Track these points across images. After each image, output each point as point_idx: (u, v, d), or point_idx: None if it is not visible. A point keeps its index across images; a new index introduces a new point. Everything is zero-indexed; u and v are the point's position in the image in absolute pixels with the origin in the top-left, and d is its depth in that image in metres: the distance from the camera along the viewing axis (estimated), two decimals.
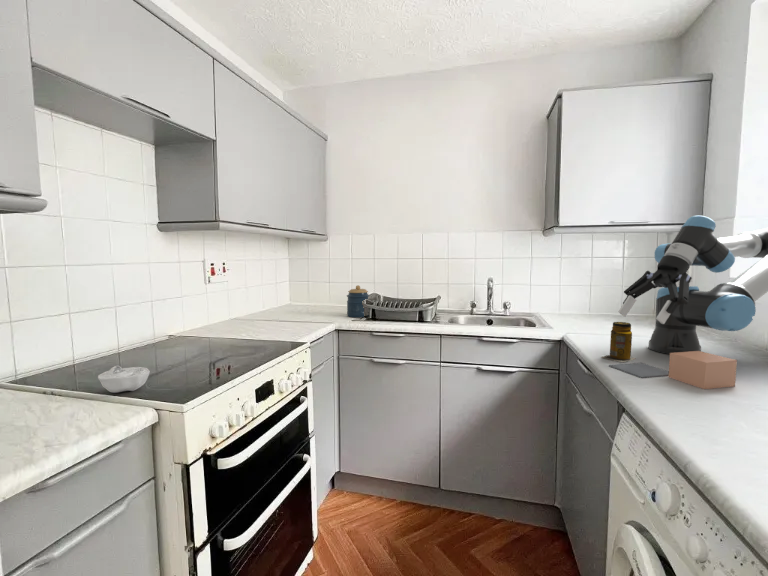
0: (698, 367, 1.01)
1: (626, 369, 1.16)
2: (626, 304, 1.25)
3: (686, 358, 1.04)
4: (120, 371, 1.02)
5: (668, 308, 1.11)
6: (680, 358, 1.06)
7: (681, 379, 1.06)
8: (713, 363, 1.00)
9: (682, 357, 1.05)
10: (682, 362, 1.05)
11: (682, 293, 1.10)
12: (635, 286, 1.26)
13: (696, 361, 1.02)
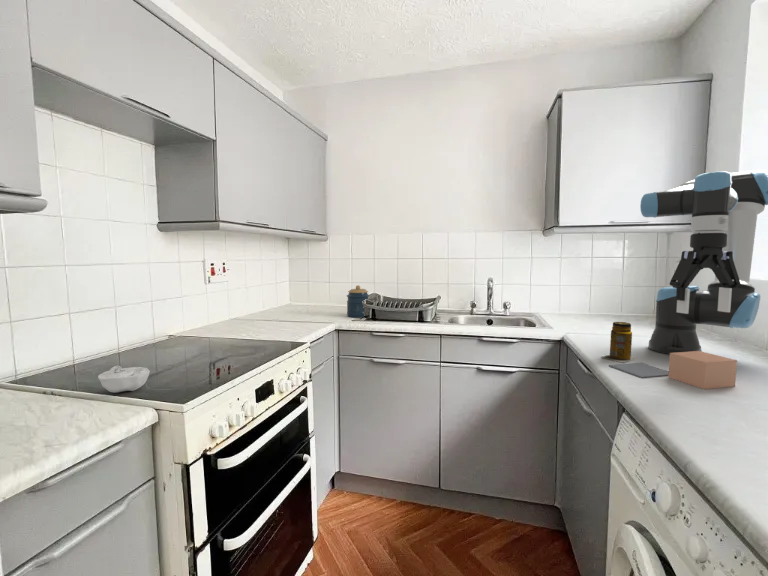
0: (698, 367, 1.01)
1: (626, 369, 1.16)
2: None
3: (686, 358, 1.04)
4: (120, 371, 1.02)
5: None
6: (680, 358, 1.06)
7: (681, 379, 1.06)
8: (713, 363, 1.00)
9: (682, 357, 1.05)
10: (682, 362, 1.05)
11: (737, 277, 1.04)
12: None
13: (696, 361, 1.02)
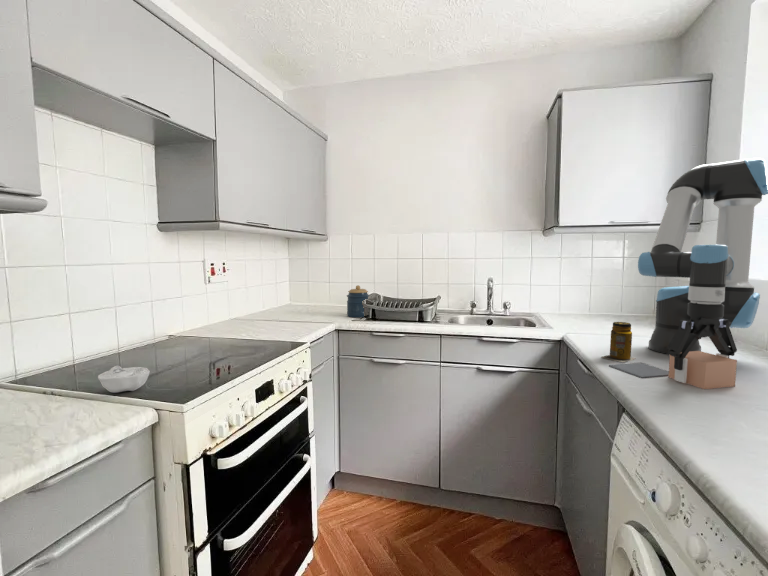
0: (698, 367, 1.01)
1: (626, 369, 1.16)
2: None
3: (686, 358, 1.04)
4: (120, 371, 1.02)
5: None
6: None
7: None
8: (713, 363, 1.00)
9: None
10: None
11: (734, 344, 1.06)
12: None
13: (696, 361, 1.02)
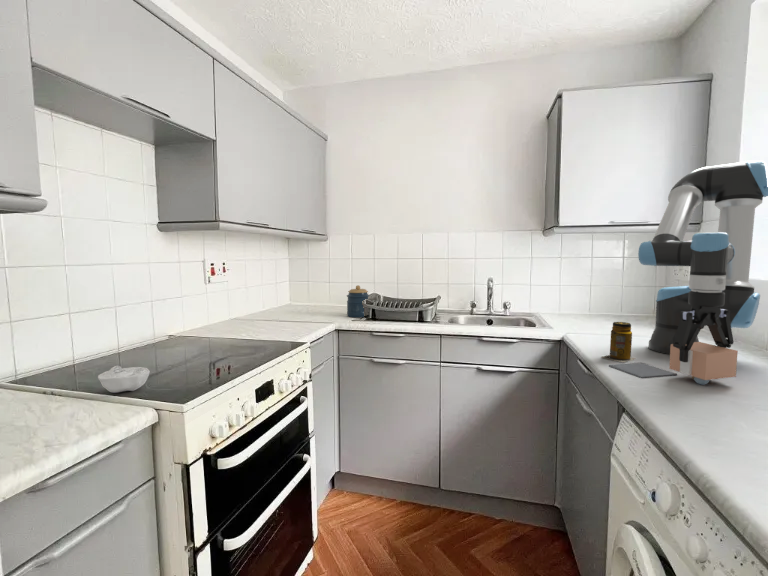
0: (698, 358, 1.01)
1: (626, 369, 1.16)
2: None
3: None
4: (120, 371, 1.02)
5: None
6: None
7: None
8: (714, 354, 1.00)
9: None
10: None
11: (731, 336, 1.05)
12: None
13: (697, 352, 1.02)
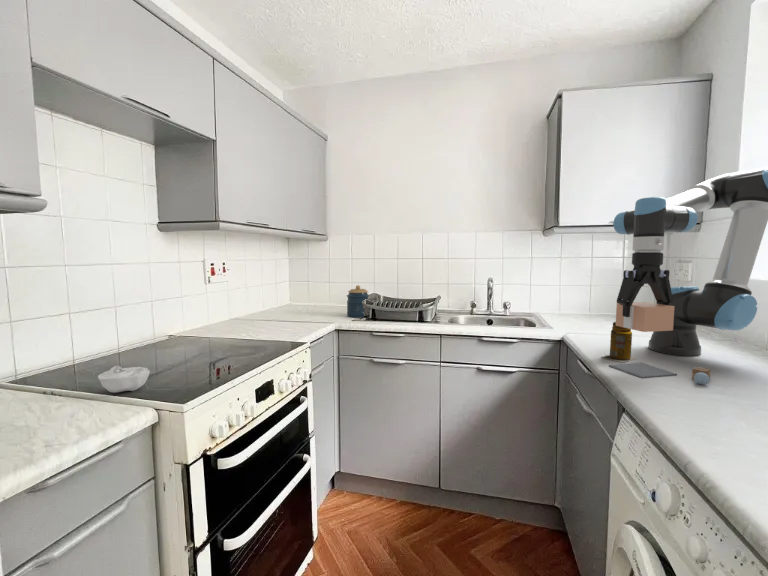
0: (638, 312, 1.10)
1: (626, 369, 1.16)
2: None
3: None
4: (120, 371, 1.02)
5: None
6: None
7: None
8: (652, 308, 1.09)
9: None
10: None
11: (671, 295, 1.15)
12: None
13: (637, 307, 1.11)
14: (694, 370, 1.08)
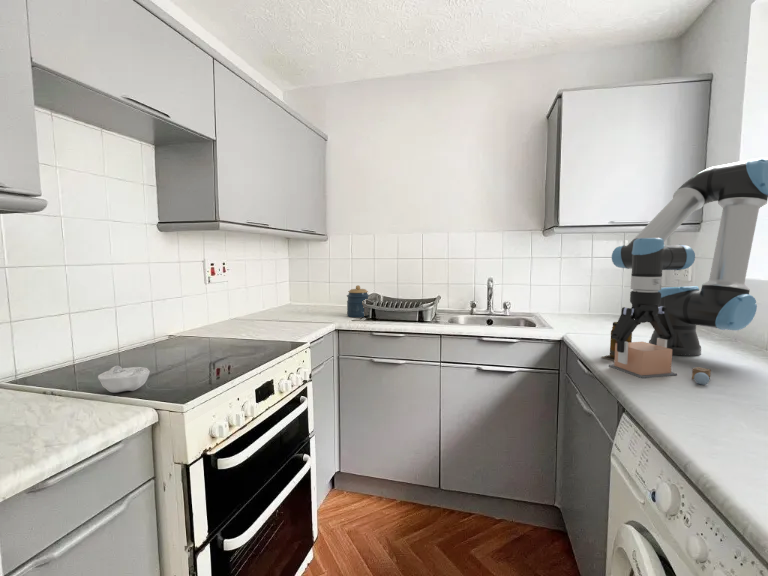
0: (637, 355, 1.11)
1: None
2: None
3: (628, 347, 1.15)
4: (120, 371, 1.02)
5: (665, 346, 1.16)
6: None
7: (624, 367, 1.16)
8: (650, 352, 1.10)
9: None
10: None
11: (672, 329, 1.16)
12: None
13: (635, 350, 1.12)
14: (694, 370, 1.08)
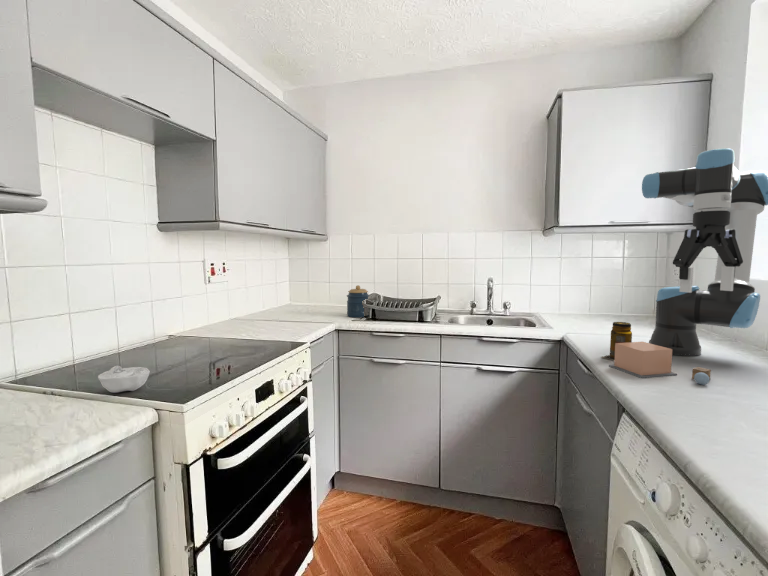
0: (637, 355, 1.11)
1: None
2: None
3: (628, 347, 1.15)
4: (120, 371, 1.02)
5: None
6: (623, 348, 1.16)
7: (624, 367, 1.16)
8: (650, 352, 1.10)
9: (625, 347, 1.16)
10: (625, 351, 1.16)
11: (740, 256, 1.04)
12: None
13: (635, 350, 1.12)
14: (694, 370, 1.08)
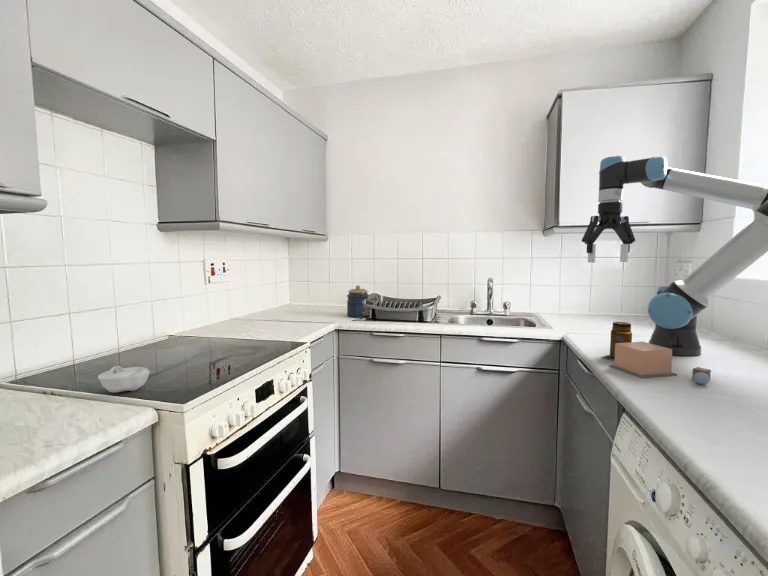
0: (637, 355, 1.11)
1: None
2: None
3: (628, 347, 1.15)
4: (120, 371, 1.02)
5: None
6: (623, 348, 1.16)
7: (624, 367, 1.16)
8: (650, 352, 1.10)
9: (625, 347, 1.16)
10: (625, 351, 1.16)
11: (633, 236, 1.39)
12: None
13: (635, 350, 1.12)
14: (694, 370, 1.08)
